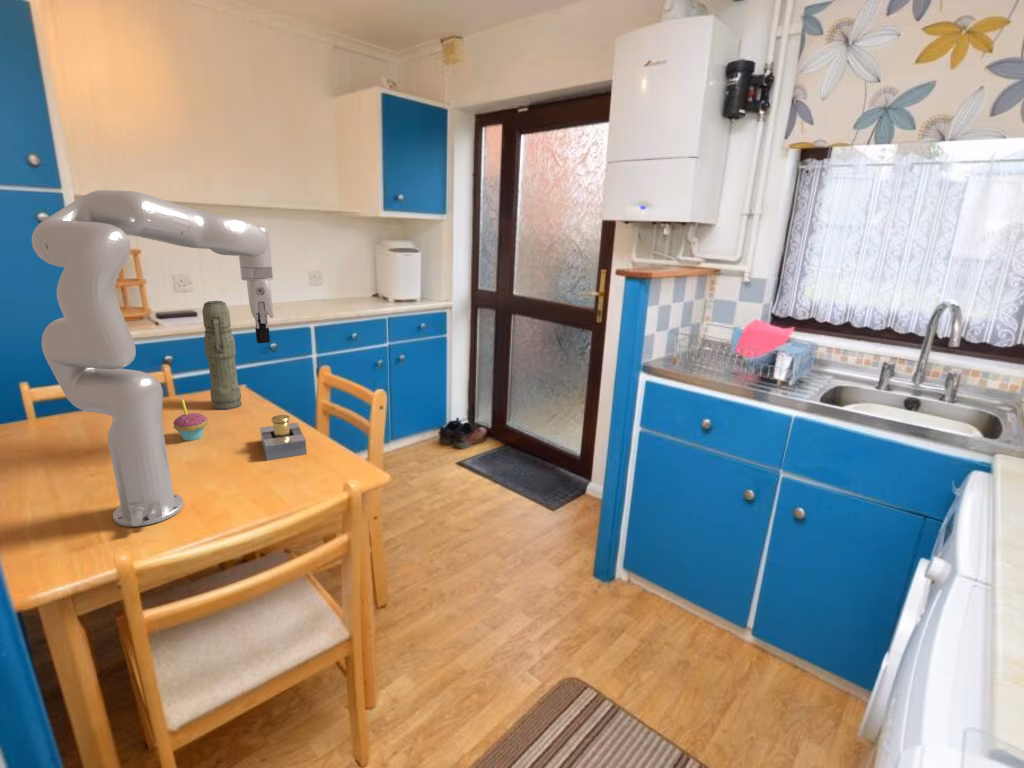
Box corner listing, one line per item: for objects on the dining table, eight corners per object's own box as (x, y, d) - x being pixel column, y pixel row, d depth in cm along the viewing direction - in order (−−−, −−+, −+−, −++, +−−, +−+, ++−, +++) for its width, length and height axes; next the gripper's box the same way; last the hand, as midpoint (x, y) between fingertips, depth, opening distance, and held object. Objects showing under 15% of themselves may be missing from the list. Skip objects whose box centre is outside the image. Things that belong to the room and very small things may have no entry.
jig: (306, 453, 146) (305, 439, 145) (266, 460, 142) (265, 445, 140) (298, 436, 158) (297, 422, 157) (261, 441, 153) (259, 427, 152)
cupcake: (168, 441, 151) (161, 400, 148) (192, 430, 159) (186, 392, 156) (193, 445, 149) (187, 404, 146) (216, 434, 157) (211, 395, 154)
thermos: (239, 398, 187) (228, 298, 177) (244, 408, 178) (232, 304, 168) (211, 402, 183) (197, 300, 173) (213, 412, 173) (199, 305, 163)
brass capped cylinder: (293, 449, 149) (290, 419, 146) (275, 452, 147) (272, 421, 144) (290, 443, 153) (288, 413, 150) (273, 446, 151) (270, 416, 148)
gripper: (275, 276, 136) (282, 347, 141) (269, 271, 148) (275, 336, 153) (243, 277, 132) (250, 349, 137) (238, 271, 144) (246, 337, 150)
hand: (263, 342), depth 145 cm, fingers closed
